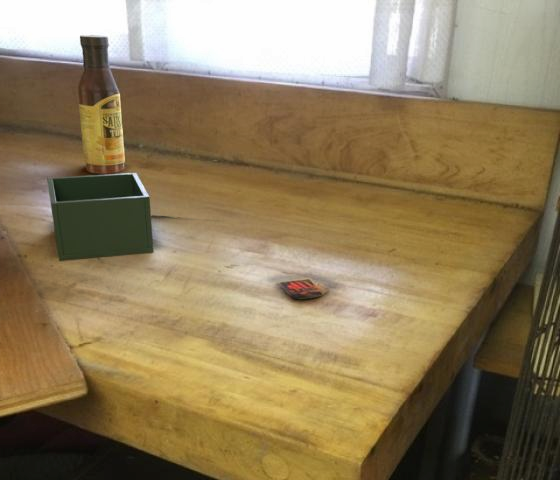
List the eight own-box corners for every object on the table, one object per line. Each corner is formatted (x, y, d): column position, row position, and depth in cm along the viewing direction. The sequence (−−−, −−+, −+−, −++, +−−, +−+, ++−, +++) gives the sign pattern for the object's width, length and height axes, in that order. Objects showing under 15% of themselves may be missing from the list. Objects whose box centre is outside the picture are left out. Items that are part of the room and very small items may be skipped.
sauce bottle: (113, 179, 108) (100, 38, 98) (78, 175, 110) (61, 36, 100) (133, 169, 114) (122, 34, 104) (99, 166, 115) (85, 32, 105)
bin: (59, 260, 79) (50, 203, 76) (54, 230, 88) (47, 177, 84) (153, 252, 82) (149, 196, 79) (140, 223, 91) (136, 172, 87)
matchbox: (299, 303, 70) (299, 299, 70) (270, 286, 74) (270, 282, 73) (335, 293, 73) (335, 289, 72) (305, 277, 76) (305, 273, 76)
